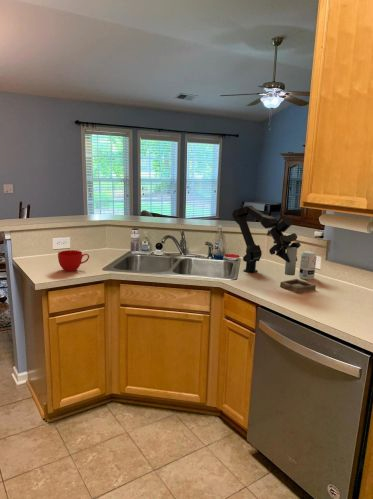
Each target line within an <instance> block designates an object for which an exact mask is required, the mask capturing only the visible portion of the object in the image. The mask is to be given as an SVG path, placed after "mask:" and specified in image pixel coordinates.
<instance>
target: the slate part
mask: <svg viewBox="0 0 373 499" xmlns="http://www.w3.org/2000/svg"><path fill="white" fill-rule="evenodd" d="M286 254H287V256H288V258H289V260H290V262H289V263H288V262H287V261H285V265H284V275H286V276H295V274H296V266H297V261H296V257H297V258H298V256H297V255H298V249H297V248H295V247H287V249H286Z"/></svg>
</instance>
